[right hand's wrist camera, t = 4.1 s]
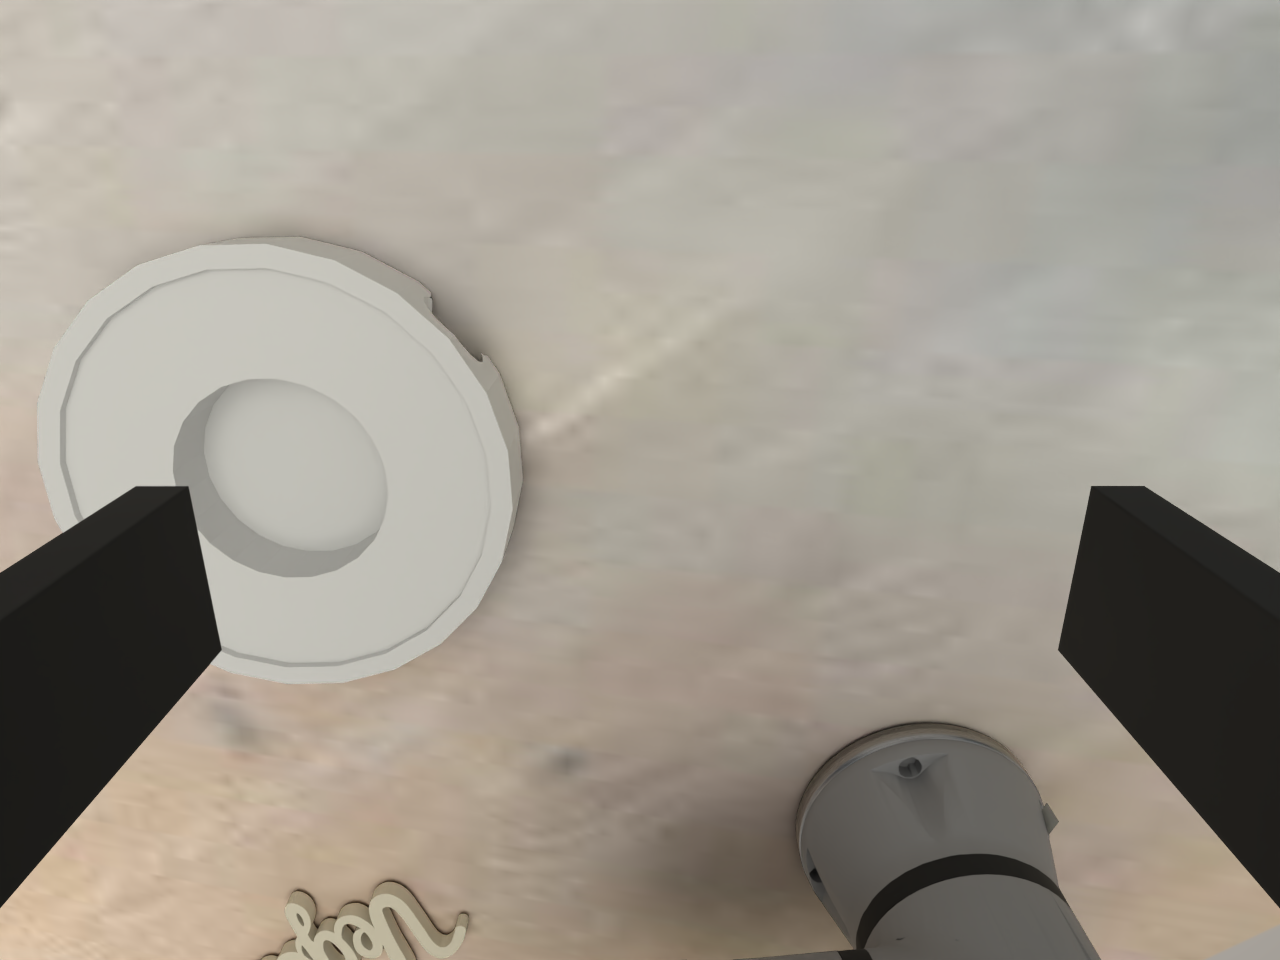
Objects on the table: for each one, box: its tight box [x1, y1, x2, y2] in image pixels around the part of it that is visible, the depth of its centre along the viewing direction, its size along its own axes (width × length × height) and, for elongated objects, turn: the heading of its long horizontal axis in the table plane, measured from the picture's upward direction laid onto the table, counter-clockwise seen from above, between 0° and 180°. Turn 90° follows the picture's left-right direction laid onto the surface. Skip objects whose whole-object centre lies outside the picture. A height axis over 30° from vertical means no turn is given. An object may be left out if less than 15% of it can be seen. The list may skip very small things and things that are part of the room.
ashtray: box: [37, 236, 523, 684], centre depth 43 cm, size 23×23×4 cm
